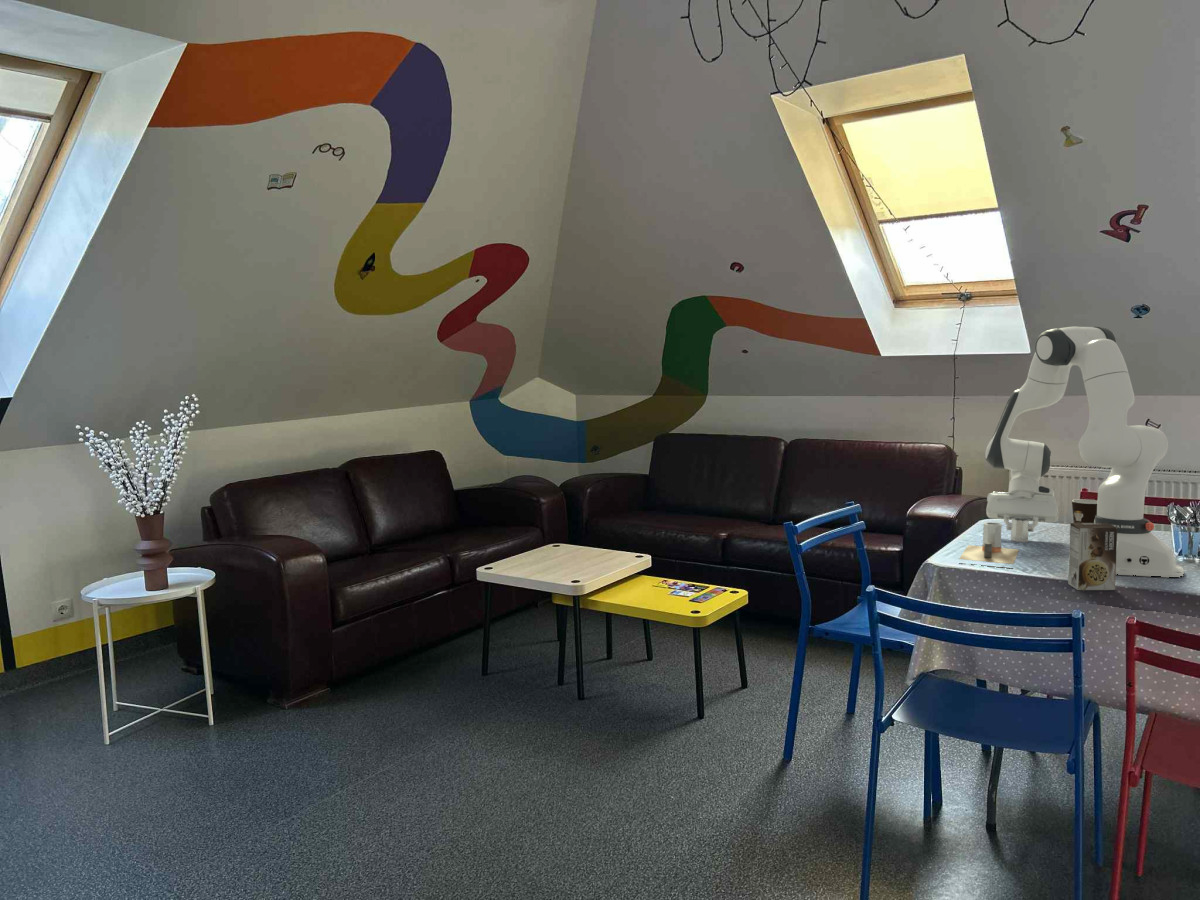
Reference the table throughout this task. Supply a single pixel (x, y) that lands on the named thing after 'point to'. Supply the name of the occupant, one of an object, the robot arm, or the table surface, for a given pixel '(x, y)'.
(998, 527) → the sleeve
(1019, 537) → the steel sleeve
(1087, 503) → the coffee mug
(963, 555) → the pin board
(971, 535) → the table surface
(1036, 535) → the table surface
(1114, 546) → the coffee box
